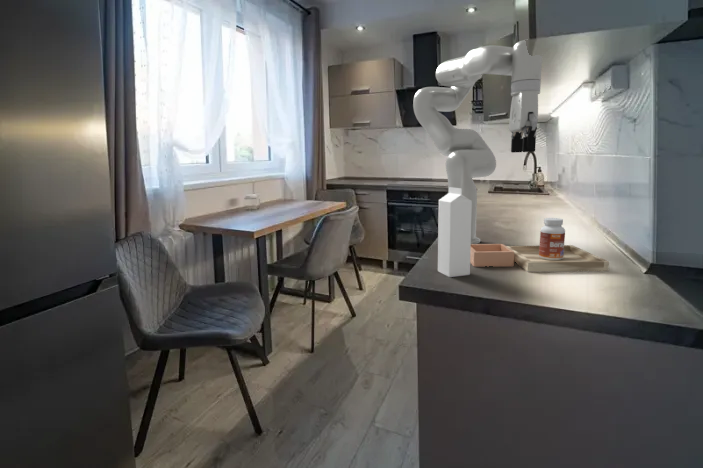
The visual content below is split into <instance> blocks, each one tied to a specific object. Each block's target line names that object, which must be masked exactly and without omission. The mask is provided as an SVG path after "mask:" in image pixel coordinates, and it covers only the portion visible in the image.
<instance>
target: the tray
mask: <svg viewBox="0 0 703 468" xmlns="http://www.w3.org/2000/svg"><path fill="white" fill-rule="evenodd" d="M506 246H507V247H508V248H509V249H511V250H512V251H514V263H515V262H516V263H517V264H516V263H515V264H516V265H518V266H519V265H520V266H521V267H520V266H519V267H520V268H522V269H523V268H524V269H525V271H526V272H527V273H545V272H546V273H548V272H549V273H554V272H555V273H556V272H557V273H561V272H563V273H564V272H566V273H567V272H569V273H570V272H572V273H573V272H577V273H578V272H582V273H583V272H609V270H610V269H609V267H610V261H609V260H606V259H604V258H602V257H599V256H597V255H595V254H593V253H591V252H590V251H589V252H588V251H586V250H584V249H583V248H579V247H578V246H576V245H573V244H572V245H571V244H569V245H567V244H564V255H563V259H561V260H546V259H542V258H540V257H539V247H540V245H506ZM524 269H523V270H524Z"/></svg>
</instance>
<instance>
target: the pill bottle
mask: <svg viewBox="0 0 703 468" xmlns="http://www.w3.org/2000/svg"><path fill="white" fill-rule="evenodd" d="M563 222H564V219H563V218H560V217H559V218H558V217H546V218H543V224H544V225H543V226H542V227H541V228H540V231H539V232H540V233H539V246H540V247H539V257H540V258H542V259H546V260H561V259H563V255H564V245H565V239H566V229H565V227H563V224H564V223H563Z"/></svg>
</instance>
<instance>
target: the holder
mask: <svg viewBox="0 0 703 468" xmlns="http://www.w3.org/2000/svg"><path fill="white" fill-rule="evenodd" d="M507 246H508V245H505V244H504V243H478V244H471V250H470V265H471V266H473V267H474V268H475V267H476V268H477V267H478V268H480V267H481V268H482V267H483V268H484V267H485V266H487V268H488V267H489V266H493V267H514V265H515V262H514V251H512V250H511V249H509V248H508V247H507ZM489 268H490V267H489Z"/></svg>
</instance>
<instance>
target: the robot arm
mask: <svg viewBox="0 0 703 468" xmlns="http://www.w3.org/2000/svg"><path fill="white" fill-rule="evenodd" d="M525 40H526V39H523V40H519V41H517V42H516V43H515V44H514V45H513V46H505V45H493V44H492V45H491V44H490V45H483V46H480V47H477V48H473V49H470V50H469V51H468V52H467V53H466V54H465V55H463V56H459V57H456V58H455V57H454V58H451V59H448V60H445V61H443V62H441V63H440V64H438V67H437V68H436V71H435V79H436V80H437V82H438V83H439V84H440V85H441V87H440V86H426V87H422V88H420V89H418V90H417V91H416V92H415V94H414V96H413V100H412V101H413V104H412V107H413V113H414V115H415V118H416V120H417V121H418V123H419V124H420V125H421V127H422V128H423V129H424V130H425V131H426V133H427V135H428V136H429V138H430V139H431V141H432V142H433V143H434V145H435V147H436V148H437V150H438V151H439V153H441V154H442V155H443V156H445V157H446V160H445V170H446V171H445V172H446V175H447V176H446V177H447V185H448V187H447V190H448V191H447V194H448V193H449V187H453V188H461V189H462V195H463V196H465V197H466V198H468V199H469V200H471V201H472V213H471V244H481V238H480V237H477V213H478V212H477V211H478V209H477V208H478V206H477V205H478V190H477V186H476V183H475V182H474V180H473V179H474V178H485V177H489V176H490V175H492V174H494V172H495V170H496V167H497V160H496V156H495V154H494V152H493V151H492V150H491V148H490V147H489V145H488V144H487V142H486V141H485V140H484V139H483V137H482V136H481V135H480V134H479V132H477V131H476V130H474V129H471V128H458V127H455V126H453V124H452V123H451V121H450V120H449V119H448V118H447V117H446V116H445V114H442V113H441V112H444V113H445V112H446V113H447V112H454V111H456V110H457V109H458V108H460V106H461V105H462V103H463V102H464V100H465V99H466V98H467V96H468V95H469V93H470V92H471V91H472V89H473V87H474V85H475V84H476V82H477V81H478V80H479V79H480V78H481V77H482V75H485V74H486V75H497V76H498V75H499V76H500V75H501V76H508V77H509V76H511V81H510V82H511V83H510V97H512V98H511V102H510V110H509V111H510V112H509V119H508V120H509V121H508V122H509V123H508V131H509V132H511V136H510V137H511V141H510V142H511V143H510V152H511V153H512V154H513V153H534V152H536V145H537V144H536V143H537V140H536V139H537V130H538V127H537V126H538V121H539V94H541V85H542V84H541V83H542V81H541V79H542V67H543V66H542V63H543V55H542V56H540V55H535V56H531V55H529V53H528V50H527V46H526V41H525ZM442 86H444V87H442ZM523 135H524V136H523Z"/></svg>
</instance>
